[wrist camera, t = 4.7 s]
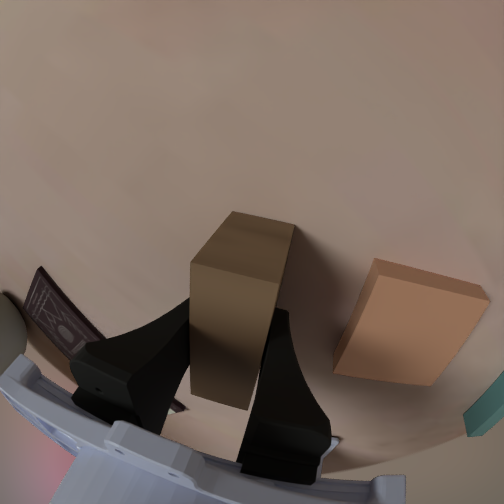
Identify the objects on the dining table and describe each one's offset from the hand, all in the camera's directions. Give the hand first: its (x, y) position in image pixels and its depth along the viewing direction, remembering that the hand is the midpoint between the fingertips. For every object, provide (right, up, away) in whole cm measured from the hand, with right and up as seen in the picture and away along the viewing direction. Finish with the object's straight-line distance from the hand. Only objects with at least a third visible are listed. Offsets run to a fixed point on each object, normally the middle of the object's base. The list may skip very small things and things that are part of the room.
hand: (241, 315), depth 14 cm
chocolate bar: (-15, -7, +11) cm, 19 cm away
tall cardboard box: (+1, +1, +2) cm, 2 cm away
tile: (+9, -1, +1) cm, 10 cm away
